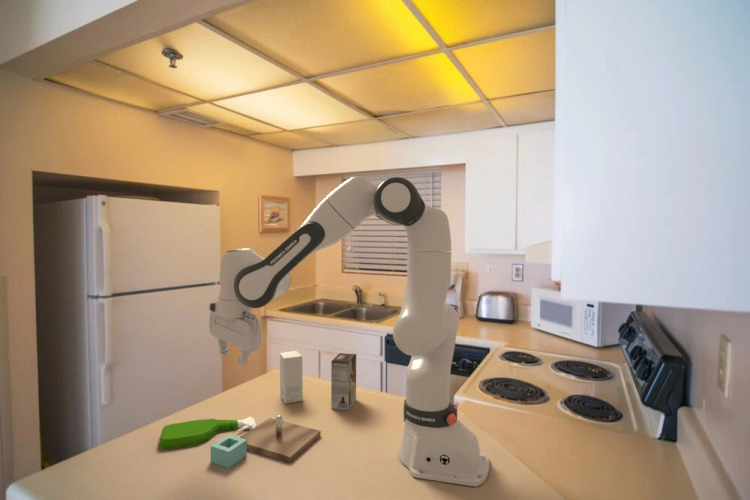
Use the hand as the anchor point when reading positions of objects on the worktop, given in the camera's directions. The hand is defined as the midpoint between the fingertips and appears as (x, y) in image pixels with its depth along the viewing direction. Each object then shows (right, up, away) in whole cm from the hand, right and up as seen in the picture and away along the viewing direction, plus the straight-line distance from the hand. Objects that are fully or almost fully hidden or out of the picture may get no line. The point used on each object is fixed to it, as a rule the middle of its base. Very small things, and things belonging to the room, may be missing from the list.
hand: (232, 359), depth 99 cm
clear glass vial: (+12, -22, +2) cm, 25 cm away
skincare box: (+9, -23, +30) cm, 38 cm away
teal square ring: (+1, -23, -6) cm, 24 cm away
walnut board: (+12, -23, +2) cm, 26 cm away
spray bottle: (-9, -23, +6) cm, 26 cm away
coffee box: (+28, -23, +26) cm, 44 cm away
